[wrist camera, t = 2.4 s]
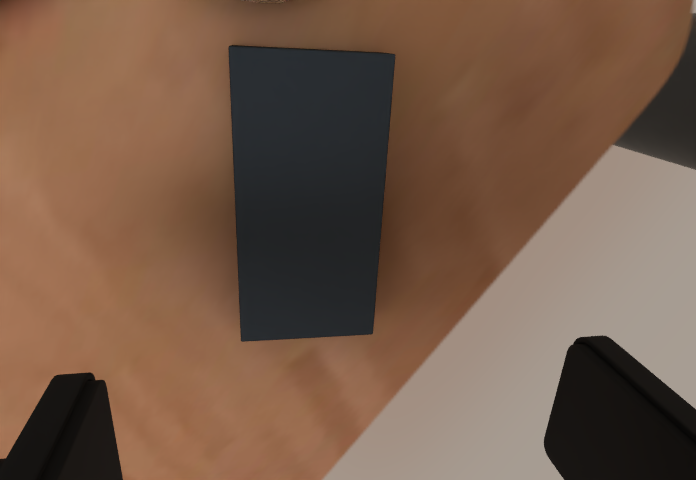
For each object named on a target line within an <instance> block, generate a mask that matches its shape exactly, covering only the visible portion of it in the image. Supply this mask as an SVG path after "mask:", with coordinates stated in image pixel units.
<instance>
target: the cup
mask: <svg viewBox="0 0 696 480" xmlns="http://www.w3.org/2000/svg"><path fill="white" fill-rule="evenodd" d="M241 1H250V2H257V3H283V2H285V1H288V0H241Z"/></svg>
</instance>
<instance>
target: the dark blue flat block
mask: <svg viewBox="0 0 696 480" xmlns="http://www.w3.org/2000/svg"><path fill="white" fill-rule="evenodd" d="M394 65H395V54H390V53H378V52H358V51H338V50H318V49H298V48H278V47H258V46H238V45H231V46H229V68H230V92H231V116H232V139H233V163H234V187H235V210H236V234H237V257H238V281H239V305H240V328H241V341H242V342H243V341H261V340H279V339H297V338H315V337H333V336H351V335H368V334H373V325H374V313H375V300H376V288H377V276H378V263H379V251H380V239H381V226H382V214H383V201H384V189H385V177H386V164H387V152H388V139H389V127H390V115H391V102H392V90H393V77H394Z"/></svg>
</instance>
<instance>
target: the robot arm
mask: <svg viewBox="0 0 696 480" xmlns="http://www.w3.org/2000/svg"><path fill="white" fill-rule="evenodd" d="M544 447H545V451H546V453H547V455H548V457H549V459H550V460H551V462H552V463H553V464H554V466H555V467H556V469H557V470H558V472H559V473H560V474H561V476H562V477H563V478H564V480H696V409H695V408H693V407H692V406H691V405H690V404H689V403H687V402H686V401H685V400H684V399H683V398H681V397H680V396H679V395H678V394H677V393H675V392H674V391H673V390H672V389H671V388H669V387H668V386H667V385H666V384H665V383H663V382H662V381H661V380H660V379H659V378H657V377H656V376H655V375H654V374H653V373H651V372H650V371H649V370H648V369H647V368H645V367H644V366H643V365H642V364H641V363H639V362H638V361H637V360H636V359H635V358H633V357H632V356H631V355H630V354H629V353H627V352H626V351H625V350H624V349H623V348H621V347H620V346H619V345H618V344H616V343H615V342H614V341H613V340H612V339H610V338H609V337H607V336H591V337H580V338H577V339H576V341H575V342H574V344H573V345H571V346H570V347H569V349H568V351H567V355H566V358H565V362H564V366H563V369H562V373H561V377H560V381H559V385H558V388H557V392H556V396H555V400H554V404H553V407H552V411H551V415H550V418H549V422H548V426H547V430H546V434H545V437H544ZM0 480H123V478H122V472H121V466H120V461H119V455H118V449H117V444H116V438H115V432H114V426H113V421H112V415H111V409H110V404H109V398H108V392H107V387H106V383H105V381H104V380H95V377H94V375H93V373H77V374H63V375H56V376H54V378H53V379H52V380H51V382H50V384H49V385H48V387H47V389H46V391H45V392H44V394H43V396H42V397H41V399H40V401H39V403H38V404H37V406H36V408H35V409H34V411H33V413H32V415H31V416H30V418H29V420H28V421H27V423H26V425H25V427H24V428H23V430H22V432H21V434H20V435H19V437H18V439H17V440H16V442H15V444H14V446H13V447H12V449H11V451H10V452H9V454H8V456H7V458H6V459H0Z"/></svg>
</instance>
